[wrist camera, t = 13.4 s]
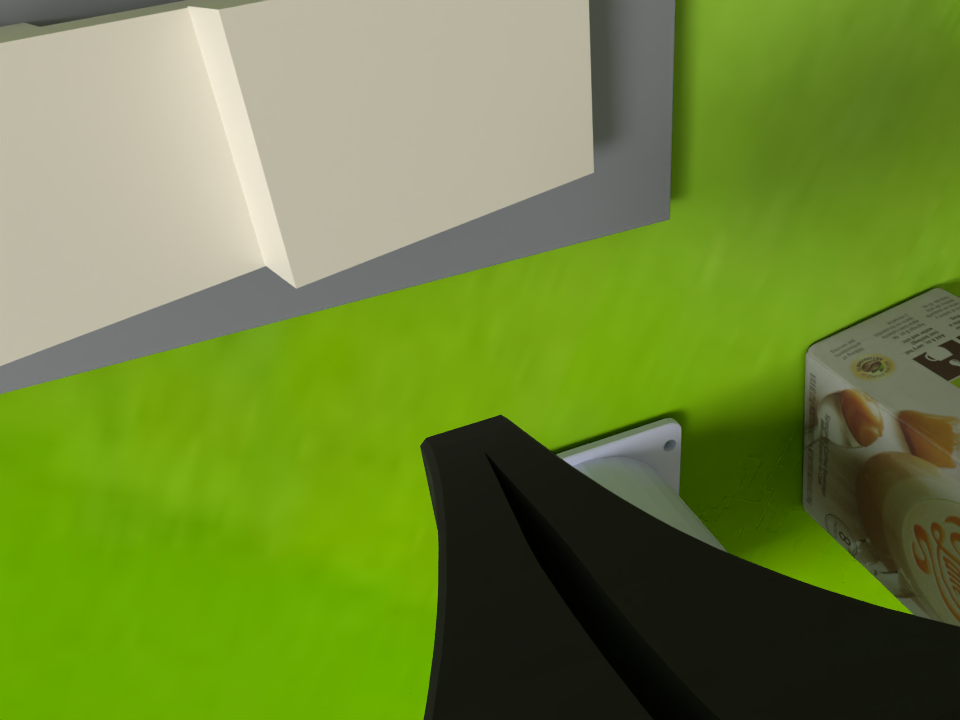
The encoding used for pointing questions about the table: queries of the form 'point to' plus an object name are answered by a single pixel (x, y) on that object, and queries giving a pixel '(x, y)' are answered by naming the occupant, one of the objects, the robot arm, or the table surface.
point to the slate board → (470, 246)
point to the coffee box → (891, 448)
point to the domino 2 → (393, 116)
